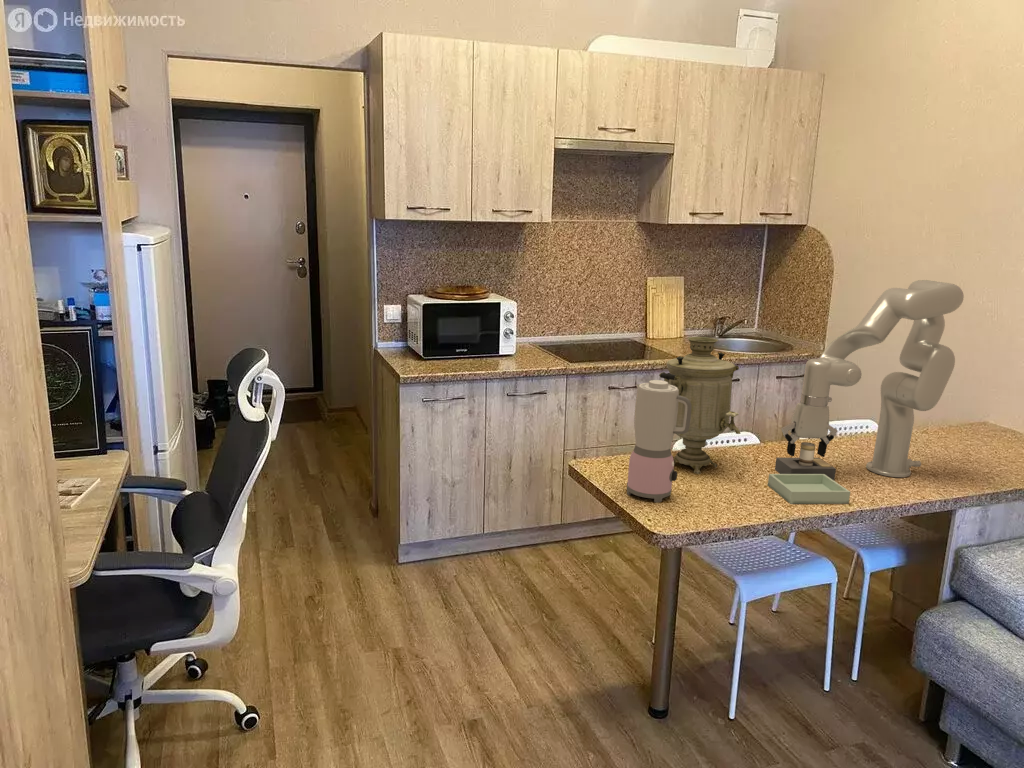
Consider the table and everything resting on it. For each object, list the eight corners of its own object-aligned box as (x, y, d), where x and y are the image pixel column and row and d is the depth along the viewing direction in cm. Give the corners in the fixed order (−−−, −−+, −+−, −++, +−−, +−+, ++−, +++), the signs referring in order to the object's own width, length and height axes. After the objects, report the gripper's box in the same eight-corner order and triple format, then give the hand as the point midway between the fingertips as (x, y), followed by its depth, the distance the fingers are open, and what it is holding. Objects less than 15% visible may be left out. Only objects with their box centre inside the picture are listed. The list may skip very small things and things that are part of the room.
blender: (619, 496, 202) (628, 382, 194) (634, 482, 212) (643, 374, 205) (675, 509, 194) (686, 391, 187) (688, 494, 205) (699, 383, 197)
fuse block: (817, 469, 230) (819, 457, 229) (834, 481, 220) (836, 467, 220) (774, 469, 229) (776, 456, 228) (789, 481, 219) (791, 467, 218)
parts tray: (822, 485, 217) (824, 474, 216) (848, 503, 203) (850, 491, 202) (767, 485, 215) (769, 473, 214) (790, 503, 201) (791, 491, 200)
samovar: (680, 488, 209) (693, 350, 200) (632, 459, 233) (642, 334, 224) (763, 478, 220) (780, 347, 211) (709, 451, 244) (722, 332, 235)
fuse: (806, 473, 227) (811, 442, 224) (813, 477, 223) (818, 446, 221) (794, 473, 226) (798, 442, 224) (800, 477, 222) (805, 446, 220)
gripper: (834, 398, 224) (826, 451, 228) (780, 396, 222) (773, 450, 226) (848, 404, 216) (839, 459, 220) (792, 403, 214) (784, 458, 218)
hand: (805, 455), depth 223 cm, fingers open, 9 cm apart
